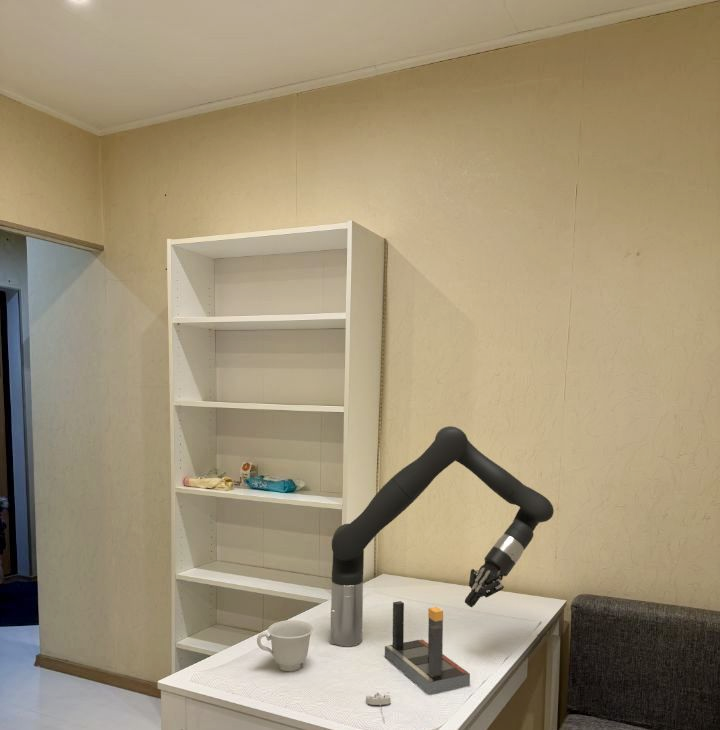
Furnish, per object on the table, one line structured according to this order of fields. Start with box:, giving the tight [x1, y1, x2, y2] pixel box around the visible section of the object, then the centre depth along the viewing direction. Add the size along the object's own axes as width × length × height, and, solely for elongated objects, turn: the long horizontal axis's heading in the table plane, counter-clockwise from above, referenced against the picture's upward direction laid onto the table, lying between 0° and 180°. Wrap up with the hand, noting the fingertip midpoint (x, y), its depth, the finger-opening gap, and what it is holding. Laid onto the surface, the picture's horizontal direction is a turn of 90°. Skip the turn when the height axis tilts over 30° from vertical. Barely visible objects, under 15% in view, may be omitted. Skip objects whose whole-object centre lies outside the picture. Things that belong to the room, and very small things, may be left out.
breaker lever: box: [427, 606, 444, 658], centre depth 166 cm, size 2×3×12 cm
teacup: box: [256, 619, 314, 672], centre depth 166 cm, size 12×15×10 cm
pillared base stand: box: [384, 600, 471, 696], centre depth 165 cm, size 12×23×15 cm, turn 25°
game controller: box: [365, 692, 391, 724], centre depth 145 cm, size 6×12×3 cm, turn 23°
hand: (468, 604), depth 171 cm, fingers closed
